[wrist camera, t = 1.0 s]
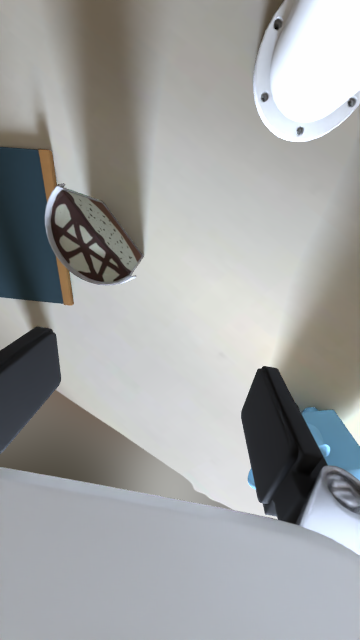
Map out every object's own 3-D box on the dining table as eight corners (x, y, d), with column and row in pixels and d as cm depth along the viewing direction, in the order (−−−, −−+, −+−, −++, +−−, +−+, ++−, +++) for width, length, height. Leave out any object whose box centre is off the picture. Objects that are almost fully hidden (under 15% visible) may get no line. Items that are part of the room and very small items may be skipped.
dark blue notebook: (-50, 143, 30) (-56, 141, 29) (52, 151, 29) (48, 149, 28) (-4, 295, 39) (-8, 297, 38) (73, 304, 39) (71, 305, 38)
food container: (67, 219, 33) (16, 219, 24) (95, 191, 31) (52, 180, 22) (121, 285, 36) (95, 307, 27) (149, 264, 34) (131, 280, 25)
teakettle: (232, 432, 49) (244, 512, 36) (291, 378, 41) (334, 453, 28) (297, 464, 52) (331, 549, 39) (363, 418, 44) (434, 505, 31)
